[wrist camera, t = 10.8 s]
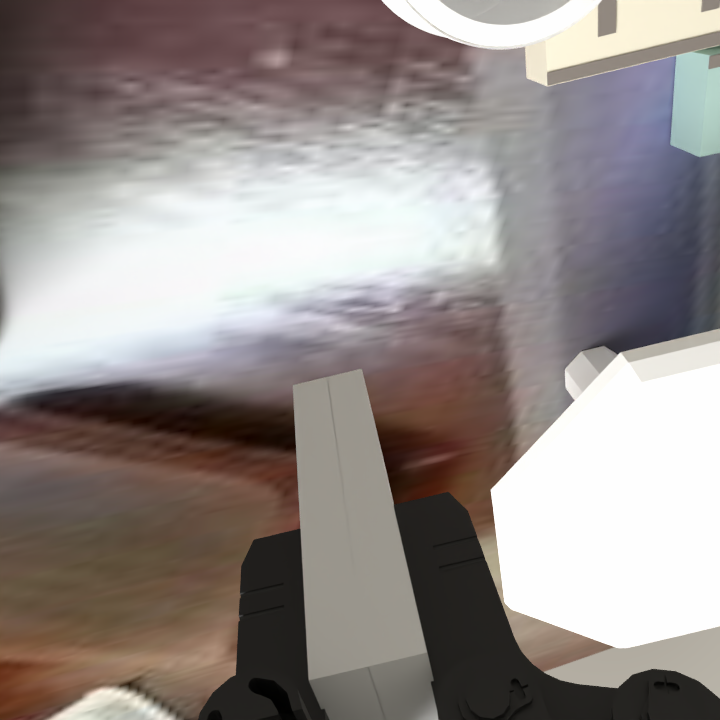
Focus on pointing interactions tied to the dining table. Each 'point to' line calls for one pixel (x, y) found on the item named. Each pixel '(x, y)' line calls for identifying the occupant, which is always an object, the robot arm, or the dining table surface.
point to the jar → (493, 19)
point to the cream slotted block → (624, 38)
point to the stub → (697, 102)
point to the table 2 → (621, 499)
